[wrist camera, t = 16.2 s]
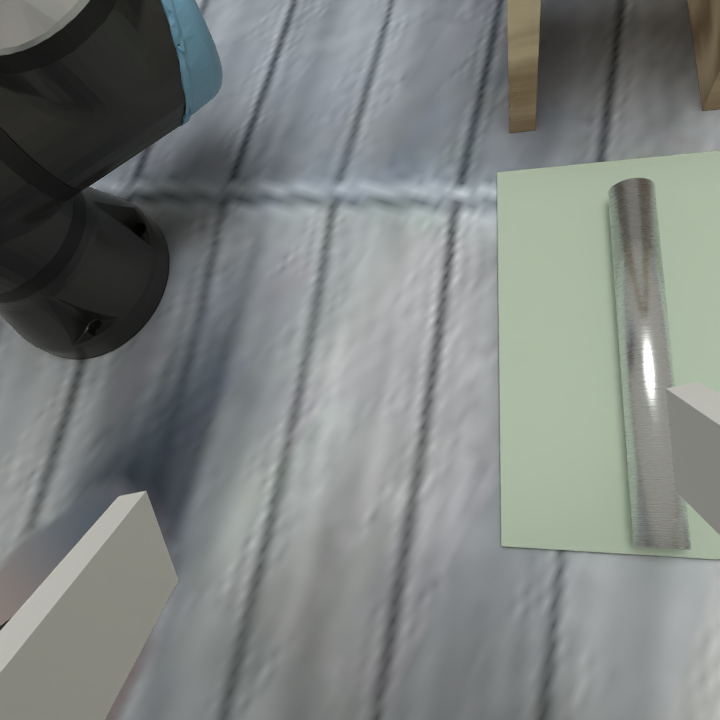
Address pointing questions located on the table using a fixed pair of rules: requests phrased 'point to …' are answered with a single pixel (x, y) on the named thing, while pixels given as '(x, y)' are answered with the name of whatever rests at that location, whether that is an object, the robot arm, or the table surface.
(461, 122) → the table surface
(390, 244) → the table surface
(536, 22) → the oak bridge
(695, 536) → the sage mat
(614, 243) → the steel rod
